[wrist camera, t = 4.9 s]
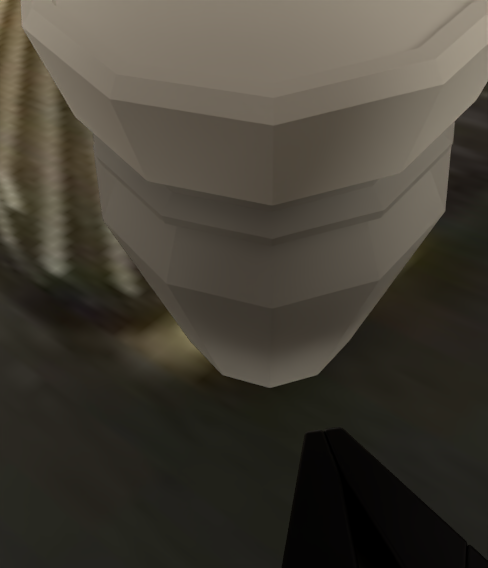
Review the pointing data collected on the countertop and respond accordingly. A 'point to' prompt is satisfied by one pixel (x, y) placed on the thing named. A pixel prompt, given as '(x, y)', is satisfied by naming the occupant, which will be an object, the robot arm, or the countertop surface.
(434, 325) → the countertop surface
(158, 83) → the jar
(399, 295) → the countertop surface
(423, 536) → the robot arm
